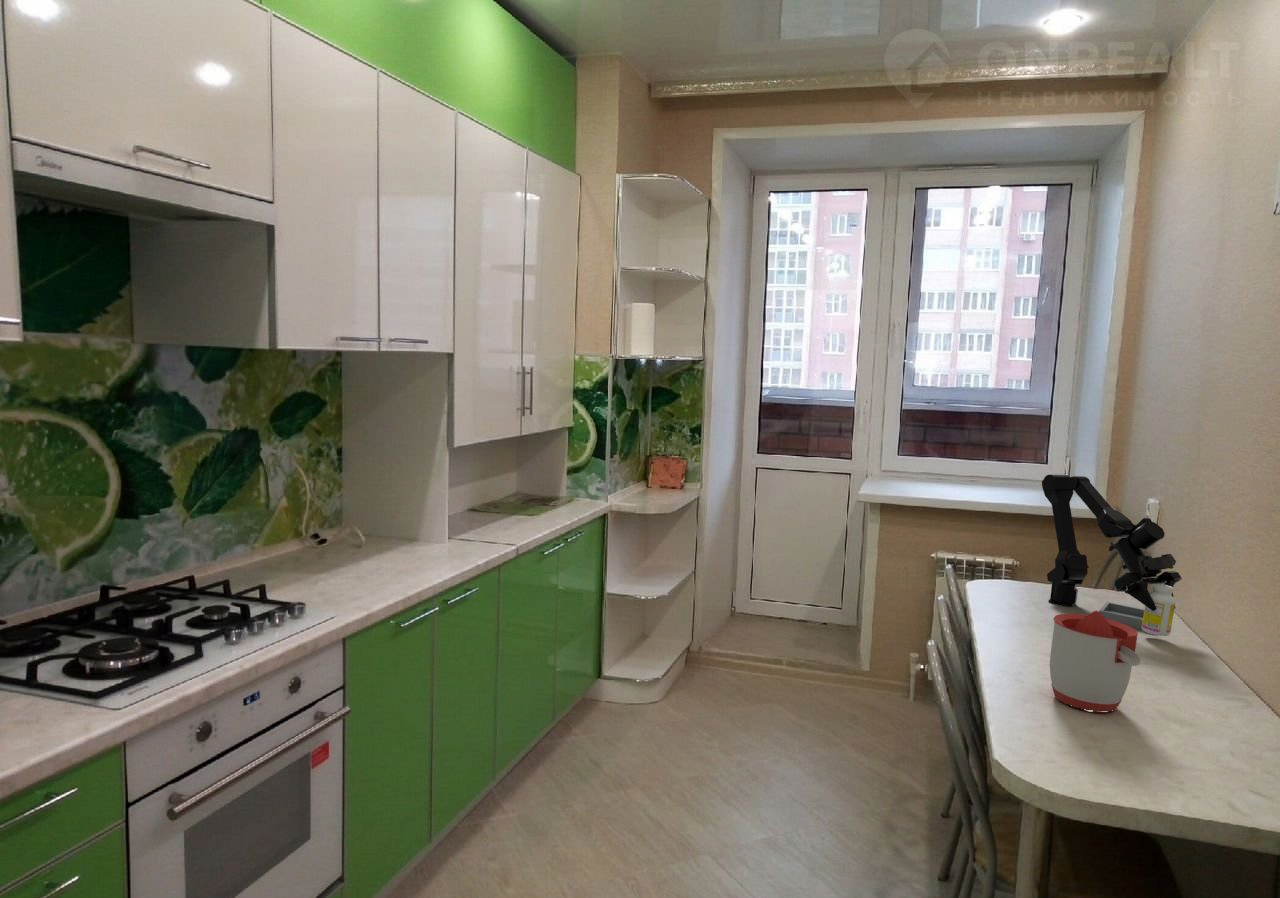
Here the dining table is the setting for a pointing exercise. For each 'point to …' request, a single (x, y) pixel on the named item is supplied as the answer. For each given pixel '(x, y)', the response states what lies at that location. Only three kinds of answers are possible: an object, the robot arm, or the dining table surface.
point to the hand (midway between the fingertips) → (1164, 609)
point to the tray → (1123, 614)
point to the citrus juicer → (1091, 660)
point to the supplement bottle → (1159, 611)
